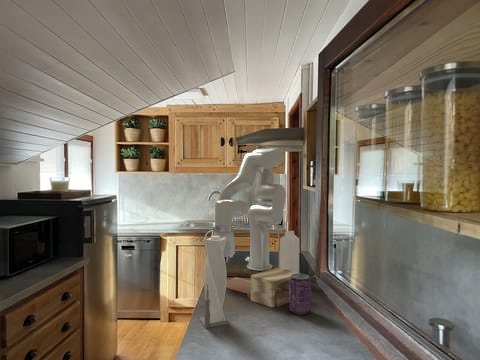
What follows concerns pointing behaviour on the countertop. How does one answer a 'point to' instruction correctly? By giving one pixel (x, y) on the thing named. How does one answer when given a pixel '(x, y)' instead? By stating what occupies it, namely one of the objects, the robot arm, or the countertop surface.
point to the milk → (289, 252)
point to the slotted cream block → (271, 287)
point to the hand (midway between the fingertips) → (222, 272)
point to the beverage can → (300, 294)
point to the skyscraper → (214, 281)
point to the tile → (239, 285)
